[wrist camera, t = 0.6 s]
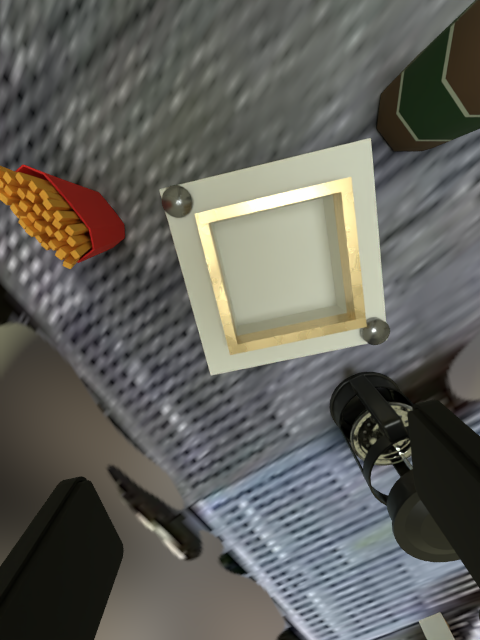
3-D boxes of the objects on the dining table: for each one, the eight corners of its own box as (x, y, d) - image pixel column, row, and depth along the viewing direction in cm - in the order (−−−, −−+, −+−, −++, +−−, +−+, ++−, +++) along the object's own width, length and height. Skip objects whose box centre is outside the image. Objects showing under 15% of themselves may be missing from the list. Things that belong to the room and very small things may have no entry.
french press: (411, 419, 41) (615, 644, 19) (347, 446, 42) (467, 687, 20) (381, 348, 38) (583, 518, 16) (313, 380, 39) (410, 579, 17)
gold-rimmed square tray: (168, 194, 32) (152, 185, 26) (354, 149, 31) (383, 129, 25) (213, 360, 38) (208, 386, 32) (371, 327, 37) (399, 348, 31)
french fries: (60, 198, 32) (-38, 181, 21) (87, 174, 32) (1, 144, 20) (114, 262, 34) (52, 280, 23) (140, 242, 34) (89, 249, 22)
